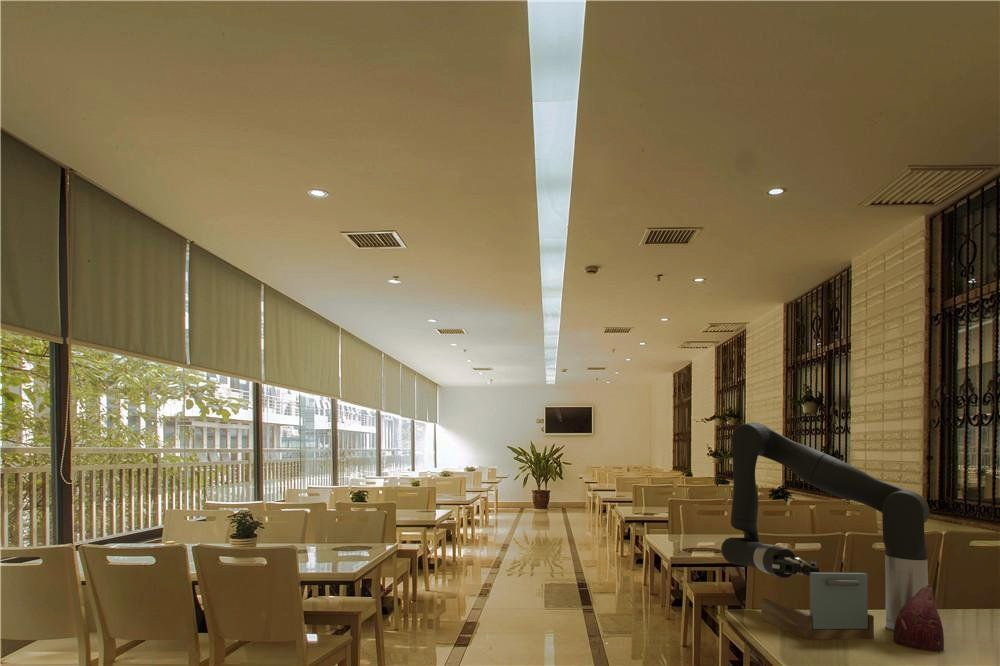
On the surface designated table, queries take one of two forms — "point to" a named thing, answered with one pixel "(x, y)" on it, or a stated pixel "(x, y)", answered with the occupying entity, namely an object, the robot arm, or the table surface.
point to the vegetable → (920, 623)
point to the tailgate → (839, 600)
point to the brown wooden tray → (808, 623)
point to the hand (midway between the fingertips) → (816, 572)
